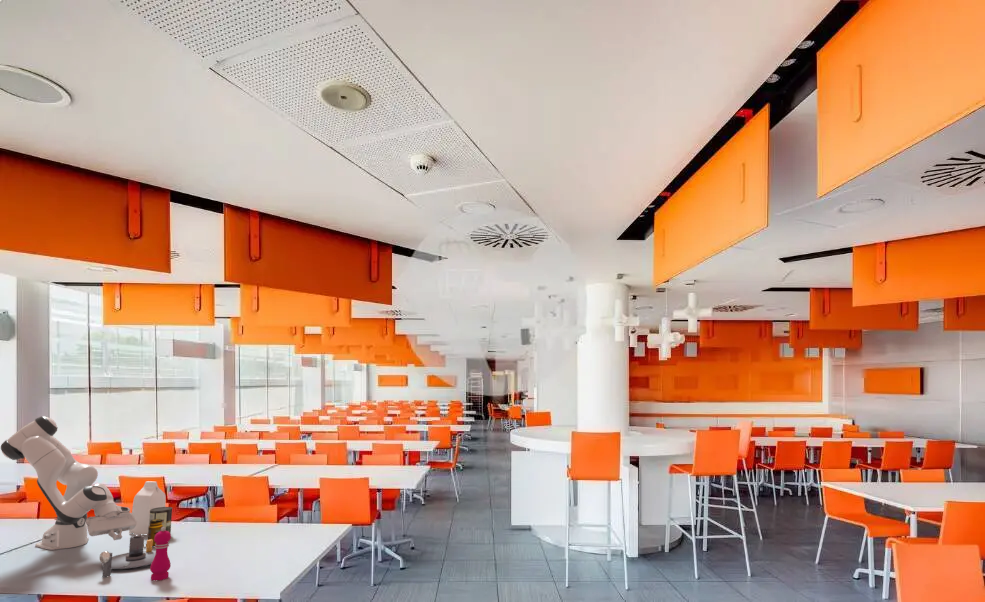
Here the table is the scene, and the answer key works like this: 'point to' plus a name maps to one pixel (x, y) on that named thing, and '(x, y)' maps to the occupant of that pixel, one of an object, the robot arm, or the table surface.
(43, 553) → the table surface
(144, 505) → the milk
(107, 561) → the grey bar with dome
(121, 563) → the turntable
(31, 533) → the table surface
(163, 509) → the coffee can
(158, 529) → the condiment
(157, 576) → the pepper mill
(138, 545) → the urn
